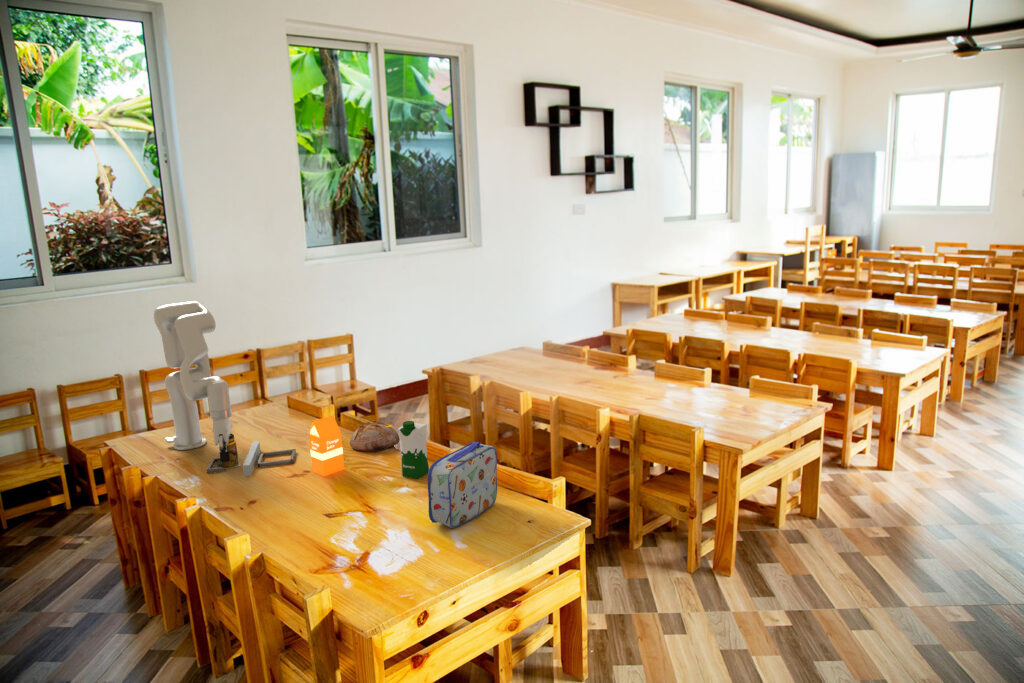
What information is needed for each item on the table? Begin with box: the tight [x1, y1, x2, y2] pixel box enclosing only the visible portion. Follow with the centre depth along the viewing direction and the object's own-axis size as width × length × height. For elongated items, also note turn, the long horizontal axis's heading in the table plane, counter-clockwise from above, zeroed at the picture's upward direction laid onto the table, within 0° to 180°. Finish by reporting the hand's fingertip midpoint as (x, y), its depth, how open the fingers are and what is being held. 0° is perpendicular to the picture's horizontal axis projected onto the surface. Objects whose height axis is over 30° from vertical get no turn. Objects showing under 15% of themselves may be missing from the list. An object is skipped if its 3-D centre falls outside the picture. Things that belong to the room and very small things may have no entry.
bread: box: [349, 421, 400, 453], centre depth 286 cm, size 16×20×10 cm
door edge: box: [242, 440, 262, 477], centre depth 273 cm, size 2×26×4 cm, turn 12°
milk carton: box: [396, 420, 430, 480], centre depth 253 cm, size 9×9×20 cm
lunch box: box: [427, 441, 498, 529], centre depth 219 cm, size 28×10×22 cm, turn 148°
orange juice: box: [308, 415, 345, 477], centre depth 260 cm, size 8×9×20 cm
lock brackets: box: [205, 448, 297, 474], centre depth 273 cm, size 31×12×2 cm, turn 102°
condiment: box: [214, 433, 242, 470], centre depth 270 cm, size 7×8×12 cm
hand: (227, 457), depth 271 cm, fingers closed on condiment, 6 cm apart
